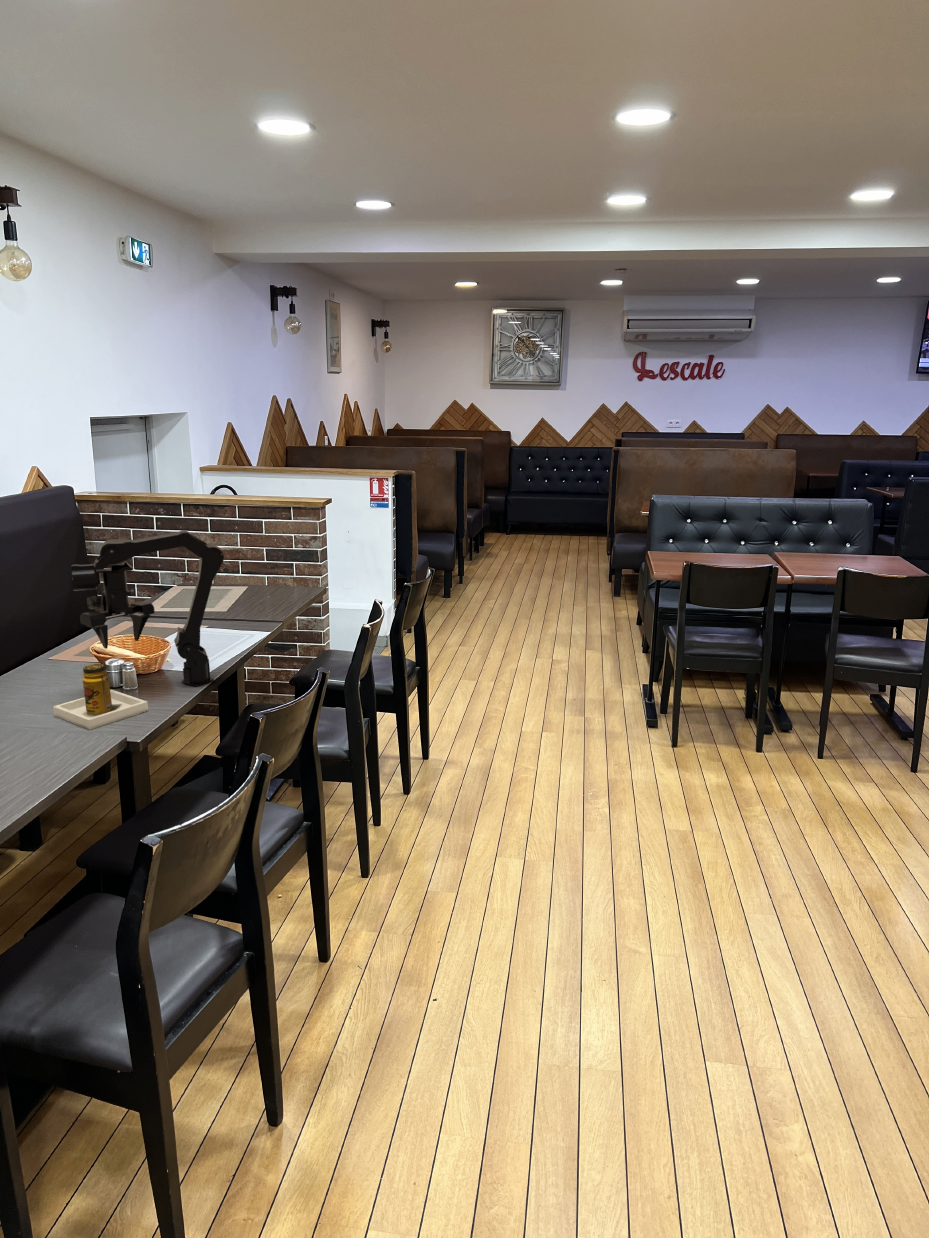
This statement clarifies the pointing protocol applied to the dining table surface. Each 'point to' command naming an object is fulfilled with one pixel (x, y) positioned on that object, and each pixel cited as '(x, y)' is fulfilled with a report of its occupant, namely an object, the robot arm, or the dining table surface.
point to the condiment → (97, 691)
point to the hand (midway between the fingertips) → (121, 644)
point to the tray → (127, 709)
